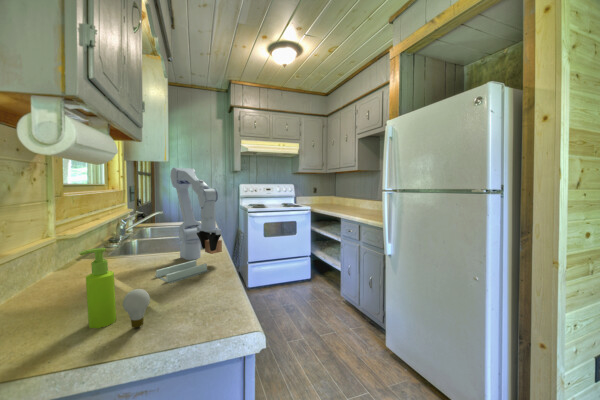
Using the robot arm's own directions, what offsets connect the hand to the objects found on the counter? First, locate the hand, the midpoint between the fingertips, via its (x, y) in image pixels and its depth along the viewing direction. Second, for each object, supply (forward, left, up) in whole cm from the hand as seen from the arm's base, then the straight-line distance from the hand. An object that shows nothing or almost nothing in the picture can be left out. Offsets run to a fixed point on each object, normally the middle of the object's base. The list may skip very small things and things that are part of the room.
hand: (209, 249), depth 112 cm
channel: (0, -12, -8) cm, 15 cm away
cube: (0, 0, +1) cm, 1 cm away
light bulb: (+24, -38, -9) cm, 46 cm away
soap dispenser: (+14, -43, -9) cm, 46 cm away
